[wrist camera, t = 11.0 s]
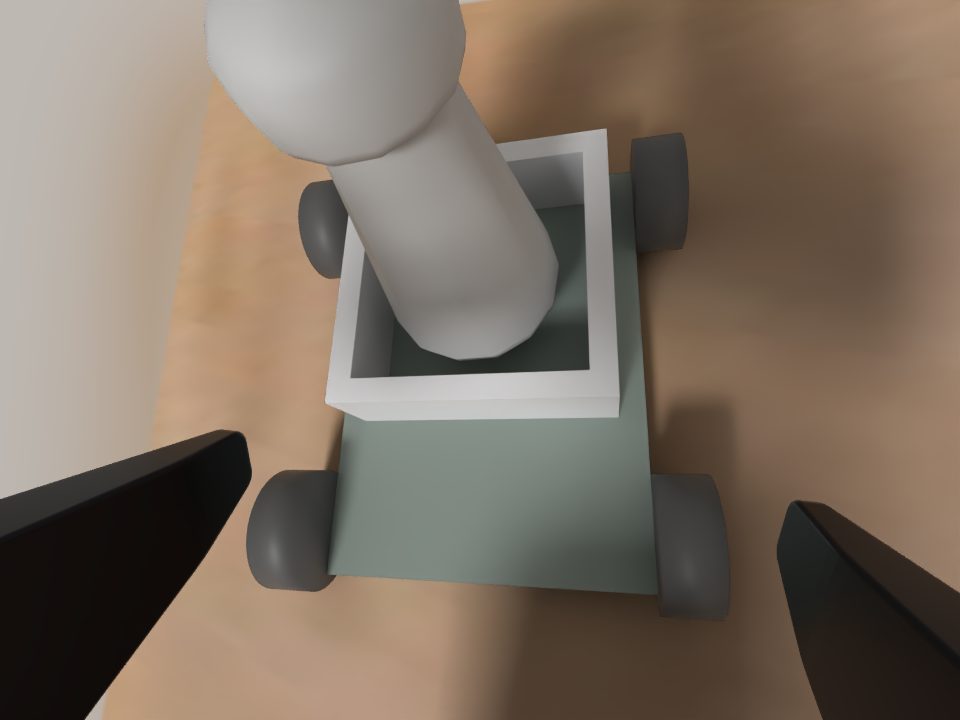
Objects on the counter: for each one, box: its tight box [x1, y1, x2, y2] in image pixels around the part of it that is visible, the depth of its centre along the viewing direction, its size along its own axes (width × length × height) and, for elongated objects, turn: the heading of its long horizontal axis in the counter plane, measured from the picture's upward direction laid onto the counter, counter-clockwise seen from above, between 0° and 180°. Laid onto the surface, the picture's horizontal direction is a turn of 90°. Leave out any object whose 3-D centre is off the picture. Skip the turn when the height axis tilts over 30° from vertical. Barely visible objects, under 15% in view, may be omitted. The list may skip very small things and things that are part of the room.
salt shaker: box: [204, 0, 559, 361], centre depth 14 cm, size 6×6×13 cm
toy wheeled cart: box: [246, 128, 730, 621], centre depth 18 cm, size 16×14×4 cm
